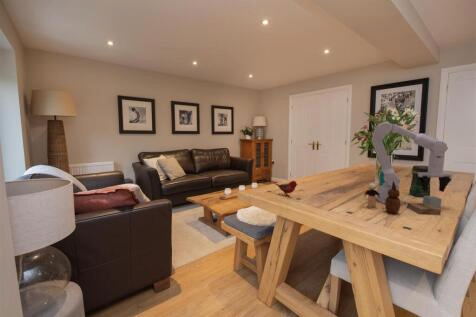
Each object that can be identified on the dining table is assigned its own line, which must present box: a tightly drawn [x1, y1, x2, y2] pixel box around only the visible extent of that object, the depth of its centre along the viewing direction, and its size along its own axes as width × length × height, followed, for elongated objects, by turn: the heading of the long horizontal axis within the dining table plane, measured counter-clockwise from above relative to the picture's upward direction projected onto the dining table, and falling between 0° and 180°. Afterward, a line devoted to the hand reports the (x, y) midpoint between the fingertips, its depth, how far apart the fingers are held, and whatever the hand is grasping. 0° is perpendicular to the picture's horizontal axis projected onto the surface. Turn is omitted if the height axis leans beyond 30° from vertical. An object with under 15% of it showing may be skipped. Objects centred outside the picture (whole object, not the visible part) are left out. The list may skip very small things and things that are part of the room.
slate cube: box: [422, 195, 442, 209], centre depth 113 cm, size 5×5×5 cm
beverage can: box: [378, 169, 385, 186], centre depth 136 cm, size 6×6×15 cm
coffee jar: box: [408, 165, 432, 198], centre depth 132 cm, size 10×8×19 cm
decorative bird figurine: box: [273, 180, 298, 197], centre depth 132 cm, size 3×18×10 cm, turn 42°
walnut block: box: [406, 202, 442, 216], centre depth 106 cm, size 9×9×3 cm
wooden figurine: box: [384, 181, 401, 214], centre depth 104 cm, size 7×6×15 cm
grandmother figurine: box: [363, 182, 380, 209], centre depth 111 cm, size 8×4×13 cm, turn 92°
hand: (433, 190), depth 112 cm, fingers open, 7 cm apart
